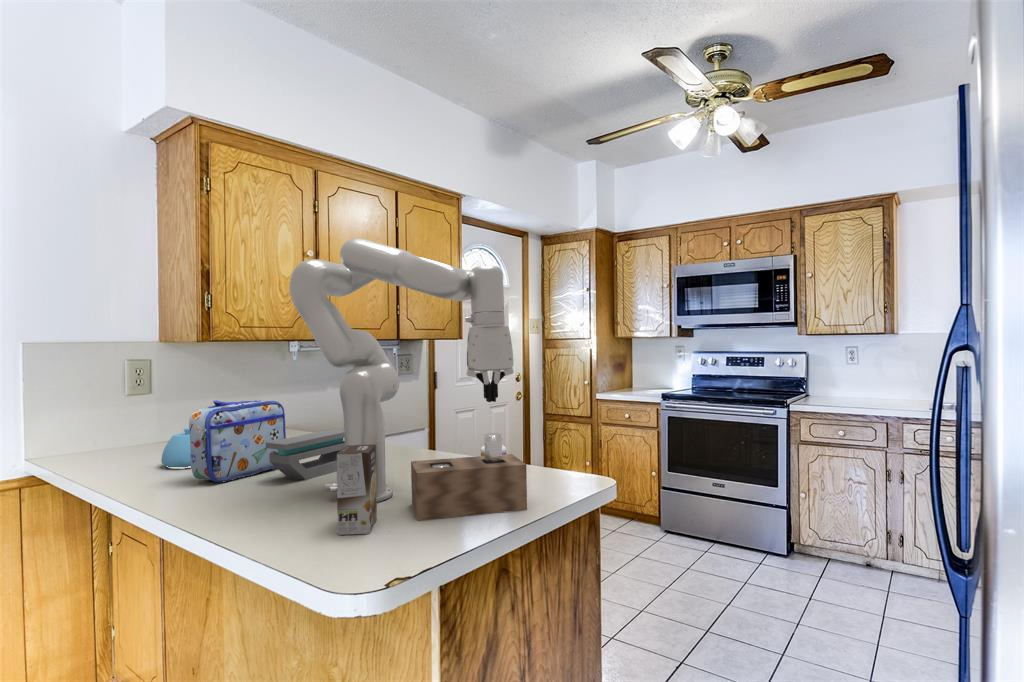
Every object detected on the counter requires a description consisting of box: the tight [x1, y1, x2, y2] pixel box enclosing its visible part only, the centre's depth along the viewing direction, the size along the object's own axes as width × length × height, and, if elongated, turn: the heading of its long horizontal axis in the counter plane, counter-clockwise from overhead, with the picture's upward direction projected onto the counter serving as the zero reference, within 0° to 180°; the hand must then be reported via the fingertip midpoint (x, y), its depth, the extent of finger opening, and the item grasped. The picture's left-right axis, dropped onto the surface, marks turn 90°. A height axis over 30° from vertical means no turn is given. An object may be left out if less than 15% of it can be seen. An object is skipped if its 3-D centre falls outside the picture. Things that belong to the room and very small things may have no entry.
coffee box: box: [336, 444, 378, 536], centre depth 114 cm, size 9×6×16 cm
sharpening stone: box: [266, 428, 344, 481], centre depth 161 cm, size 25×8×11 cm, turn 152°
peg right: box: [483, 432, 503, 464], centre depth 128 cm, size 4×4×9 cm
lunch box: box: [188, 400, 287, 483], centre depth 160 cm, size 28×10×22 cm, turn 154°
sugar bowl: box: [161, 427, 191, 467], centre depth 175 cm, size 15×15×12 cm
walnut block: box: [410, 453, 528, 522], centre depth 126 cm, size 24×12×10 cm, turn 106°
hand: (491, 401), depth 128 cm, fingers closed
